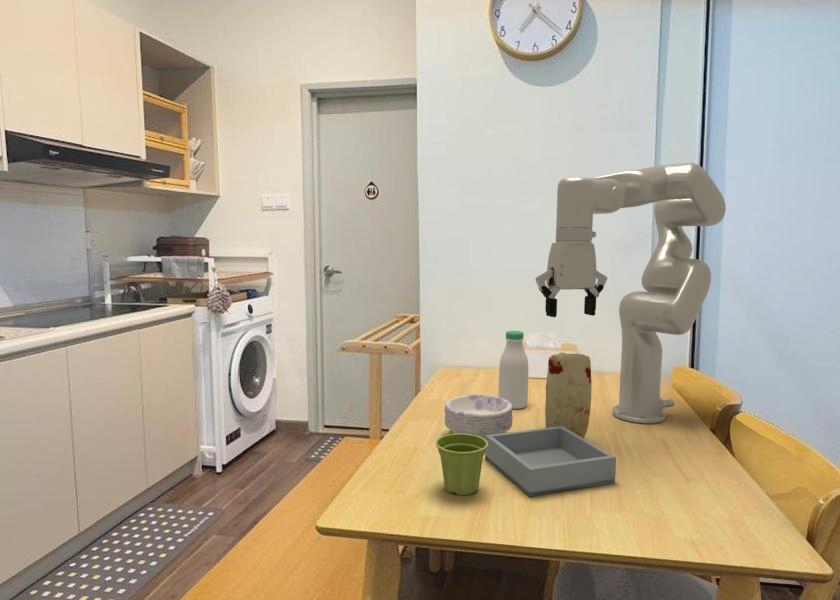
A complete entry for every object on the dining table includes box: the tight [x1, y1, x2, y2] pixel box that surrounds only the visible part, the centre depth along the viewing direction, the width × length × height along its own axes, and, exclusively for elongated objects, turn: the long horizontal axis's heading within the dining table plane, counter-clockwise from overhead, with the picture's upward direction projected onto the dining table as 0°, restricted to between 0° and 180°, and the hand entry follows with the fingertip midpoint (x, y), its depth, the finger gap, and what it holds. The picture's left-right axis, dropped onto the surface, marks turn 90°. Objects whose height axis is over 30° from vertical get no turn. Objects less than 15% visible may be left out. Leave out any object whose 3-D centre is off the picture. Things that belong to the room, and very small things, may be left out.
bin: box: [484, 426, 617, 498], centre depth 112 cm, size 18×18×5 cm
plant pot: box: [435, 433, 488, 496], centre depth 104 cm, size 9×9×9 cm
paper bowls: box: [444, 394, 514, 439], centre depth 130 cm, size 15×15×8 cm
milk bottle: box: [498, 330, 529, 410], centre depth 153 cm, size 8×8×20 cm
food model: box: [544, 352, 592, 439], centre depth 128 cm, size 10×7×20 cm
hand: (570, 315), depth 125 cm, fingers open, 9 cm apart
